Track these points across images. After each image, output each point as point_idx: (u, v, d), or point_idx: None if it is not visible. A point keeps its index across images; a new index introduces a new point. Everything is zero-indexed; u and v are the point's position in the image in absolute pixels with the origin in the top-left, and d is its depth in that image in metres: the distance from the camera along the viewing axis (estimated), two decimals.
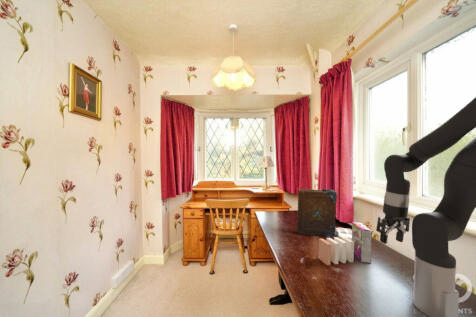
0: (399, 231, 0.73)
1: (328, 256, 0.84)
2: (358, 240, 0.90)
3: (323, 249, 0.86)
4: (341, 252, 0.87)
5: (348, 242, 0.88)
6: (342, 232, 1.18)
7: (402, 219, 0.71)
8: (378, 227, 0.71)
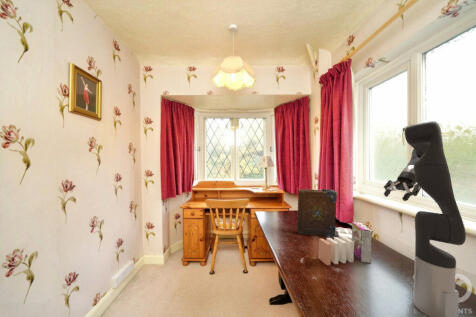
0: None
1: (328, 256, 0.84)
2: (358, 240, 0.90)
3: (323, 249, 0.86)
4: (341, 252, 0.87)
5: (348, 242, 0.88)
6: (342, 232, 1.18)
7: (409, 183, 0.91)
8: None
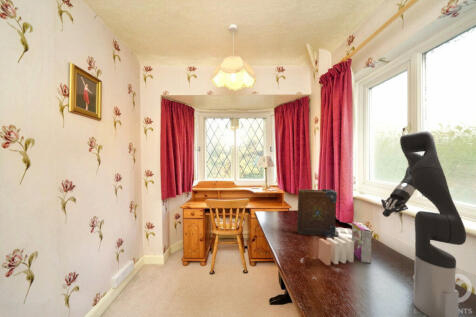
0: None
1: (328, 256, 0.84)
2: (358, 240, 0.90)
3: (323, 249, 0.86)
4: (341, 252, 0.87)
5: (348, 242, 0.88)
6: (342, 232, 1.18)
7: (401, 201, 0.94)
8: None
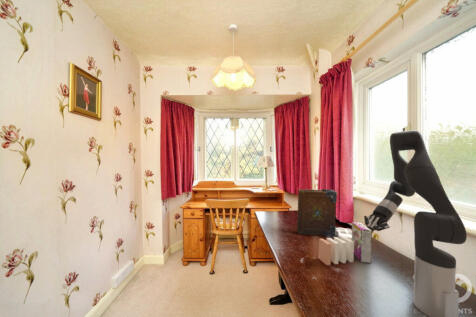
0: None
1: (328, 256, 0.84)
2: (358, 240, 0.90)
3: (323, 249, 0.86)
4: (341, 252, 0.87)
5: (348, 242, 0.88)
6: (342, 232, 1.18)
7: (383, 219, 0.91)
8: None
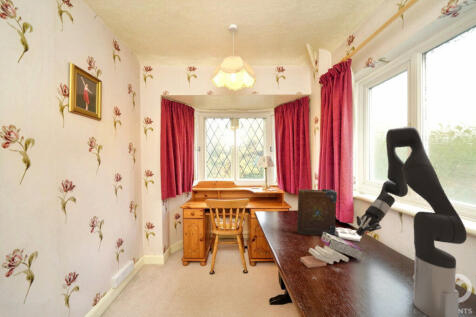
0: None
1: (319, 265, 0.83)
2: None
3: None
4: None
5: (331, 254, 0.86)
6: (342, 232, 1.18)
7: (375, 219, 0.90)
8: None
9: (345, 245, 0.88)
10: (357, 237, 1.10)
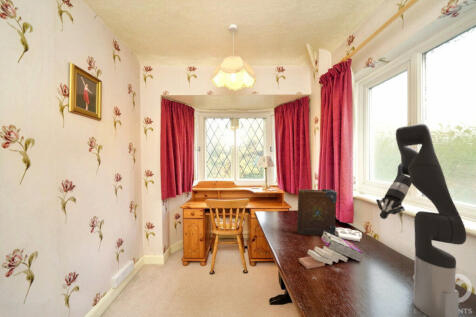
0: None
1: (317, 266, 0.82)
2: None
3: None
4: (329, 258, 0.85)
5: (330, 254, 0.86)
6: (342, 232, 1.18)
7: (398, 202, 0.92)
8: None
9: (345, 247, 0.88)
10: (357, 237, 1.10)
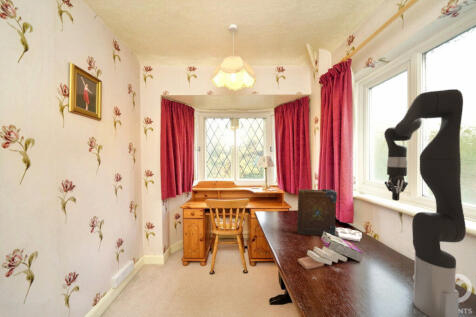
0: None
1: (316, 266, 0.82)
2: None
3: None
4: None
5: (330, 254, 0.86)
6: (342, 232, 1.18)
7: (403, 178, 0.89)
8: (389, 188, 0.89)
9: (345, 247, 0.88)
10: (357, 237, 1.10)
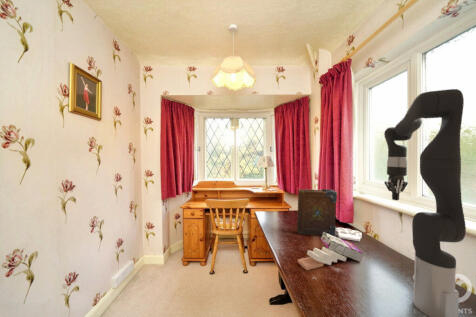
0: None
1: (316, 267, 0.82)
2: None
3: None
4: None
5: (330, 255, 0.86)
6: (342, 232, 1.18)
7: (403, 178, 0.89)
8: (389, 188, 0.89)
9: (345, 247, 0.88)
10: (357, 237, 1.10)
